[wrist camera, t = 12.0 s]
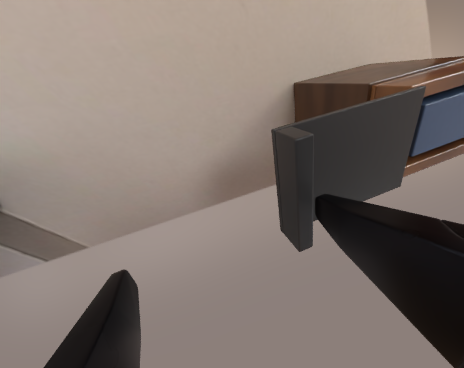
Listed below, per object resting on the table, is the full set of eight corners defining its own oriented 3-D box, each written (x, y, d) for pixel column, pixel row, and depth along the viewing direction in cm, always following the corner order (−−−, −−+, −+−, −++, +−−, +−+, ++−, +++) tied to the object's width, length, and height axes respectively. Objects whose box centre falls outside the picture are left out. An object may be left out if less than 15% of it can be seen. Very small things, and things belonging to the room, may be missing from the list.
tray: (360, 169, 15) (390, 182, 13) (372, 85, 12) (412, 86, 10) (442, 139, 17) (480, 147, 15) (470, 58, 14) (521, 54, 12)
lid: (280, 230, 12) (299, 253, 10) (270, 129, 9) (295, 139, 7) (395, 184, 13) (427, 198, 12) (420, 85, 10) (466, 86, 9)
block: (382, 148, 15) (411, 157, 13) (390, 101, 13) (425, 104, 11) (439, 128, 16) (473, 134, 14) (453, 82, 14) (494, 82, 12)
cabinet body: (295, 144, 22) (357, 172, 15) (293, 83, 19) (369, 83, 12) (362, 123, 24) (444, 140, 17) (369, 64, 21) (473, 55, 14)
